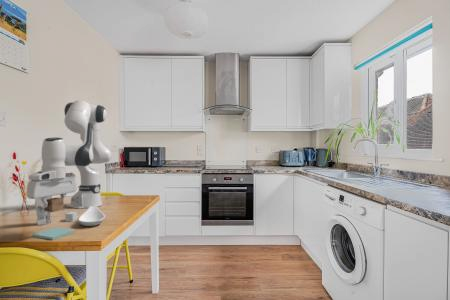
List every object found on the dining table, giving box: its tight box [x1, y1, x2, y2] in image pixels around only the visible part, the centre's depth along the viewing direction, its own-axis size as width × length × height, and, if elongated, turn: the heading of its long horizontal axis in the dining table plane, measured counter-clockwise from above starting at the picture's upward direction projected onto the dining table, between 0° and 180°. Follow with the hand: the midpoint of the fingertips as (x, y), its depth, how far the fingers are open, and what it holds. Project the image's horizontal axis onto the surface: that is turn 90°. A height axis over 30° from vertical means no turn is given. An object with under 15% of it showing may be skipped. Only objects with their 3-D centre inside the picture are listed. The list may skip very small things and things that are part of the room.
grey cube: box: [64, 211, 79, 223], centre depth 133 cm, size 4×4×4 cm
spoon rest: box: [77, 206, 106, 227], centre depth 131 cm, size 24×12×7 cm, turn 26°
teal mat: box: [32, 227, 75, 241], centre depth 111 cm, size 12×10×1 cm
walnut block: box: [44, 197, 64, 213], centre depth 111 cm, size 5×5×5 cm
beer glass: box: [34, 196, 53, 226], centre depth 127 cm, size 7×7×15 cm
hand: (53, 205), depth 111 cm, fingers closed on walnut block, 5 cm apart
